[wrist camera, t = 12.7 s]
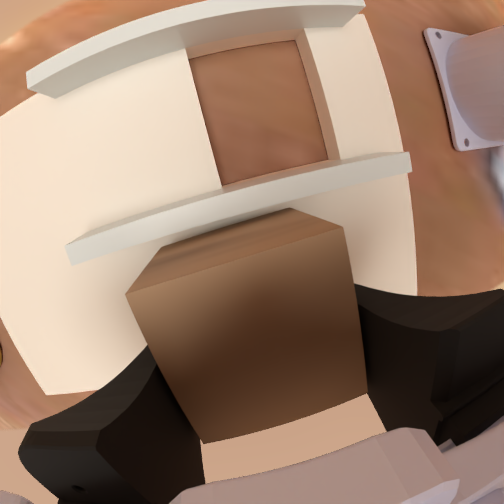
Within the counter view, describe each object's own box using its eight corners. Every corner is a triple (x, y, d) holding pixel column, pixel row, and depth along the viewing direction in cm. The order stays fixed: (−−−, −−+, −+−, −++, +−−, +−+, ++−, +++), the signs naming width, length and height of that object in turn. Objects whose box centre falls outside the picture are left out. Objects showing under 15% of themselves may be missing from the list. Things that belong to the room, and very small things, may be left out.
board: (351, 24, 12) (363, 14, 11) (403, 289, 17) (417, 299, 15) (-33, 154, 11) (-49, 155, 9) (54, 381, 15) (46, 395, 14)
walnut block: (317, 322, 13) (367, 392, 8) (204, 357, 12) (203, 443, 7) (289, 207, 11) (343, 226, 6) (161, 247, 11) (124, 294, 6)
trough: (337, 13, 11) (359, -9, 8) (381, 169, 13) (412, 171, 11) (53, 84, 10) (26, 72, 7) (94, 248, 12) (71, 266, 10)
